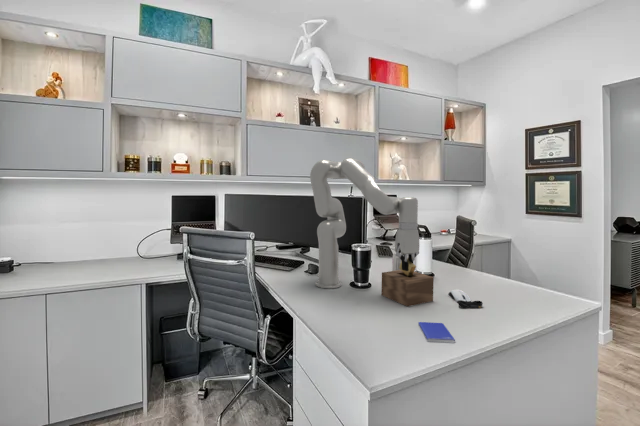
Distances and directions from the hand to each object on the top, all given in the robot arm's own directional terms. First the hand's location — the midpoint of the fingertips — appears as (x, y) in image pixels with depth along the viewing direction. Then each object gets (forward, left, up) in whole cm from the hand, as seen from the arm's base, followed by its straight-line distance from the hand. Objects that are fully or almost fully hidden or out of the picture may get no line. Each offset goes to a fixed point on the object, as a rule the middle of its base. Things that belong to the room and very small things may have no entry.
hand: (407, 269), depth 134 cm
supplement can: (-19, +14, -12) cm, 27 cm away
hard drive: (+30, -16, -13) cm, 36 cm away
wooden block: (+3, 0, 0) cm, 3 cm away
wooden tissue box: (0, 0, -12) cm, 12 cm away
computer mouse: (+13, +18, -13) cm, 26 cm away
